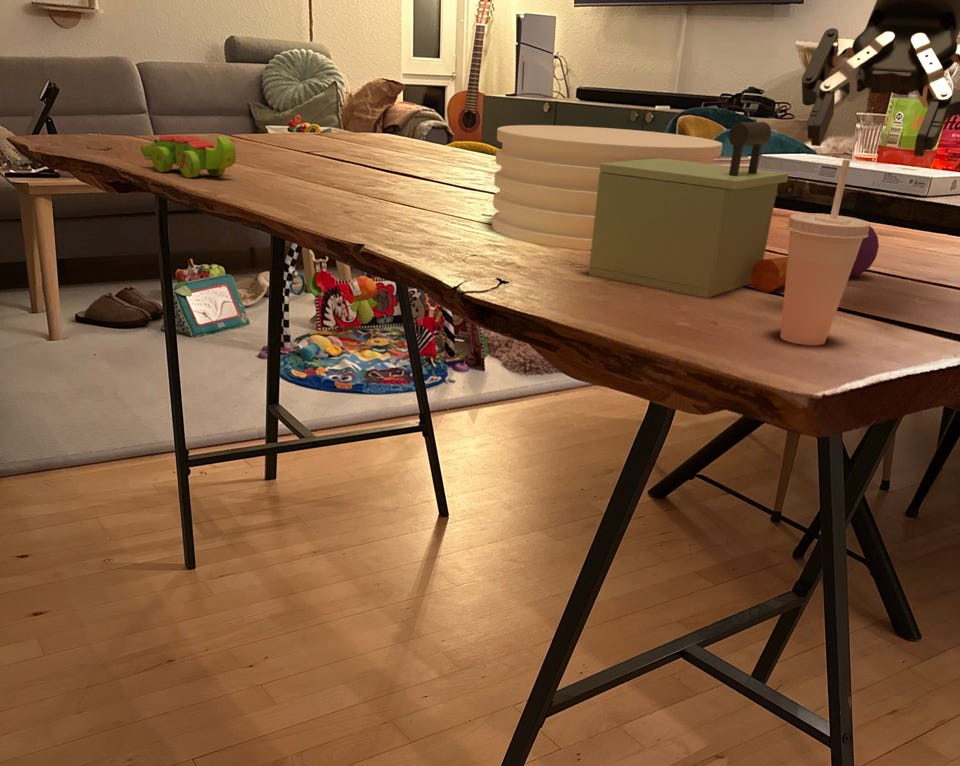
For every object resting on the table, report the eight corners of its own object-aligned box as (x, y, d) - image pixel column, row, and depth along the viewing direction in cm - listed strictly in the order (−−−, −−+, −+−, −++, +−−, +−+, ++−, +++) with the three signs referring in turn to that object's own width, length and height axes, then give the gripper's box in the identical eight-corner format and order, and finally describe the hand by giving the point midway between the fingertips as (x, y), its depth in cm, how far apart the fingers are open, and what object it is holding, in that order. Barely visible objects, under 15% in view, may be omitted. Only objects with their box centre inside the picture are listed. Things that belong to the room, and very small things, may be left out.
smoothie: (782, 350, 79) (823, 162, 72) (752, 330, 85) (787, 153, 77) (854, 351, 80) (902, 165, 73) (820, 331, 86) (861, 157, 78)
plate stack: (703, 226, 137) (718, 135, 131) (709, 261, 113) (727, 152, 107) (508, 210, 140) (514, 121, 134) (474, 240, 116) (479, 134, 110)
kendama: (739, 246, 99) (839, 217, 110) (739, 306, 102) (837, 272, 113) (791, 244, 95) (890, 215, 106) (790, 307, 98) (886, 272, 109)
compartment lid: (787, 182, 98) (799, 123, 96) (734, 190, 89) (746, 125, 87) (659, 166, 106) (667, 111, 103) (599, 172, 97) (605, 112, 94)
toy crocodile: (135, 167, 159) (130, 126, 156) (170, 166, 163) (166, 125, 160) (209, 182, 148) (205, 138, 145) (244, 180, 153) (241, 137, 150)
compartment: (759, 282, 104) (778, 181, 99) (707, 299, 95) (725, 189, 90) (646, 261, 111) (659, 166, 106) (588, 275, 102) (599, 172, 97)
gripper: (845, -52, 83) (780, 101, 80) (1026, -50, 77) (962, 115, 75) (843, 24, 90) (783, 168, 87) (1009, 31, 84) (950, 185, 81)
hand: (866, 143), depth 81 cm, fingers open, 8 cm apart
